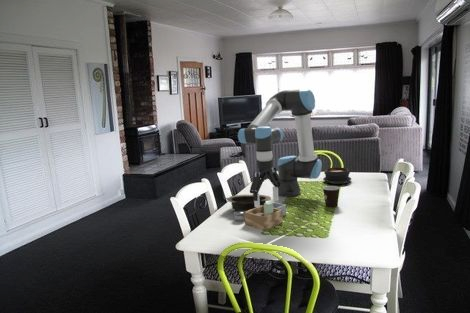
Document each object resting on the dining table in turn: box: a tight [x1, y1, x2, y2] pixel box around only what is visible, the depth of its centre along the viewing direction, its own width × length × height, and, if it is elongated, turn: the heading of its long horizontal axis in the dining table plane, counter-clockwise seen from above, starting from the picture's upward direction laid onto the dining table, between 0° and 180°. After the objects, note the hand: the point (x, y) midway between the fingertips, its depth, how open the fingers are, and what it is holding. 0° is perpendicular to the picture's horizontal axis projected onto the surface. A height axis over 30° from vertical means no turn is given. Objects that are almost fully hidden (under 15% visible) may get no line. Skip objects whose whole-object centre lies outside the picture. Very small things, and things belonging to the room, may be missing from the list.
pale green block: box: [264, 202, 273, 216], centre depth 181 cm, size 4×4×10 cm
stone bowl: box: [225, 193, 272, 212], centre depth 207 cm, size 25×25×9 cm
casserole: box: [322, 167, 352, 185], centre depth 256 cm, size 25×19×8 cm
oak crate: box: [244, 205, 284, 231], centre depth 183 cm, size 13×13×7 cm
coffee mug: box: [322, 185, 340, 209], centre depth 207 cm, size 12×9×10 cm
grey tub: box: [272, 201, 287, 217], centre depth 194 cm, size 8×8×6 cm
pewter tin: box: [233, 210, 246, 223], centre depth 190 cm, size 6×6×5 cm
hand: (266, 203), depth 180 cm, fingers open, 13 cm apart
